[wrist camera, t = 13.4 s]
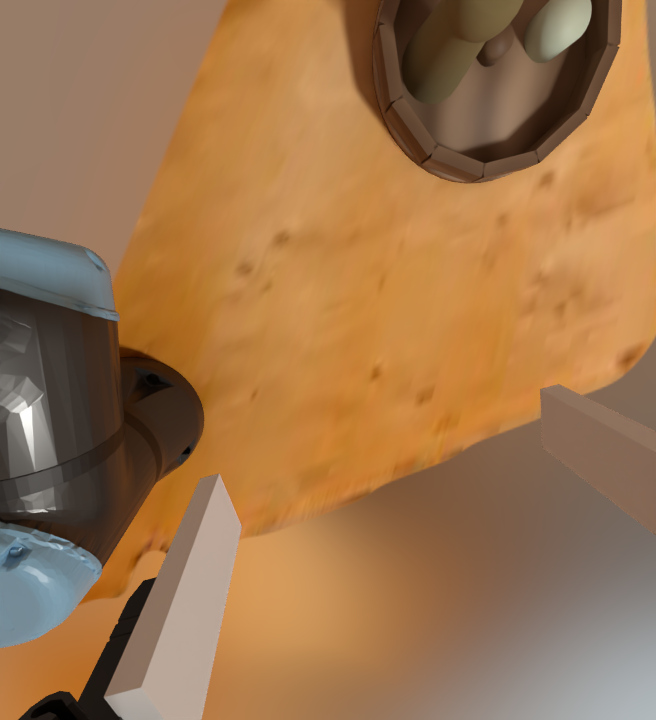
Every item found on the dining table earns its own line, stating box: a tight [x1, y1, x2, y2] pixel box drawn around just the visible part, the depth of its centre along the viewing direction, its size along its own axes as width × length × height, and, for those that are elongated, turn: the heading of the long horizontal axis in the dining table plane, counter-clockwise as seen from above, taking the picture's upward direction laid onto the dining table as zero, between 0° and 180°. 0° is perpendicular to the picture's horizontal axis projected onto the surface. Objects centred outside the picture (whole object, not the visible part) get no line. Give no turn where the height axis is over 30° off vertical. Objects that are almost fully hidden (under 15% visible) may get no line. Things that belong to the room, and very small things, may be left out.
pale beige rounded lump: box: [524, 0, 592, 63], centre depth 29 cm, size 4×4×3 cm
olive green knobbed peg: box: [401, 0, 524, 104], centre depth 25 cm, size 6×6×11 cm
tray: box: [372, 0, 622, 183], centre depth 30 cm, size 22×22×3 cm
